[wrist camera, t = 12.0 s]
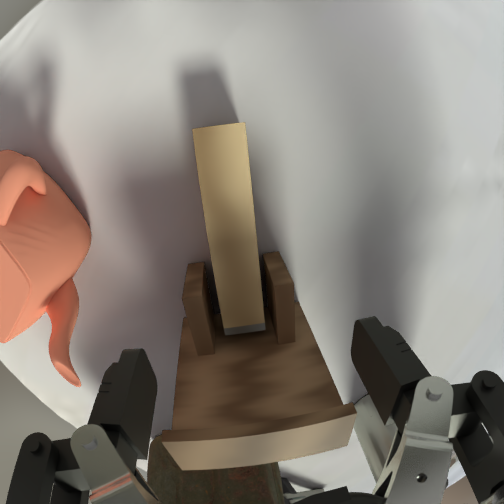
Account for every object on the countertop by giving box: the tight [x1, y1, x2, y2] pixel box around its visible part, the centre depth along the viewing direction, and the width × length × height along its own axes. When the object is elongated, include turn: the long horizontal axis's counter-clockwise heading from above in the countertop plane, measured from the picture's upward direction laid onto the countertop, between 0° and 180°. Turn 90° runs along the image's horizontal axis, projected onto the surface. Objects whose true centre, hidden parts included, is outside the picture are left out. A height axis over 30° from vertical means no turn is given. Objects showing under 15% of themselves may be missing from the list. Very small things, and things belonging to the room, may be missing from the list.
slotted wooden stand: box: [161, 251, 357, 470], centre depth 23 cm, size 13×10×15 cm
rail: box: [192, 122, 265, 336], centre depth 24 cm, size 4×17×5 cm, turn 5°
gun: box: [281, 478, 324, 504], centre depth 50 cm, size 2×25×10 cm, turn 38°
